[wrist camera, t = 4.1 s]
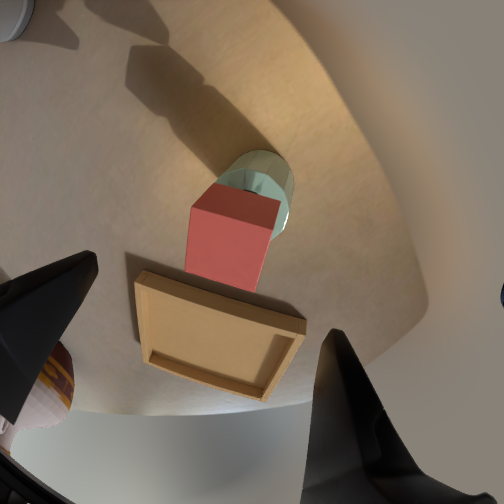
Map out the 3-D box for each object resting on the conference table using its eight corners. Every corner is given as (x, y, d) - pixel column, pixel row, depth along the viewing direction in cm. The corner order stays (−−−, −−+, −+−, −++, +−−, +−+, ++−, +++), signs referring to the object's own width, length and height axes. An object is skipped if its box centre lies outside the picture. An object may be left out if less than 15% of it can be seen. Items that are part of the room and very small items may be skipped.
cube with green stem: (290, 167, 18) (273, 229, 11) (277, 211, 20) (254, 293, 13) (241, 154, 19) (190, 206, 11) (232, 198, 20) (184, 271, 13)
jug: (25, 295, 37) (-64, 415, 12) (100, 359, 41) (25, 497, 16) (27, 335, 47) (-35, 427, 23) (85, 383, 51) (32, 483, 26)
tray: (307, 320, 26) (305, 335, 24) (268, 389, 34) (265, 402, 33) (143, 269, 27) (133, 281, 25) (149, 351, 35) (143, 362, 33)
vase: (301, 160, 18) (298, 182, 14) (284, 217, 21) (276, 254, 17) (236, 142, 19) (213, 160, 15) (224, 201, 21) (202, 232, 17)
